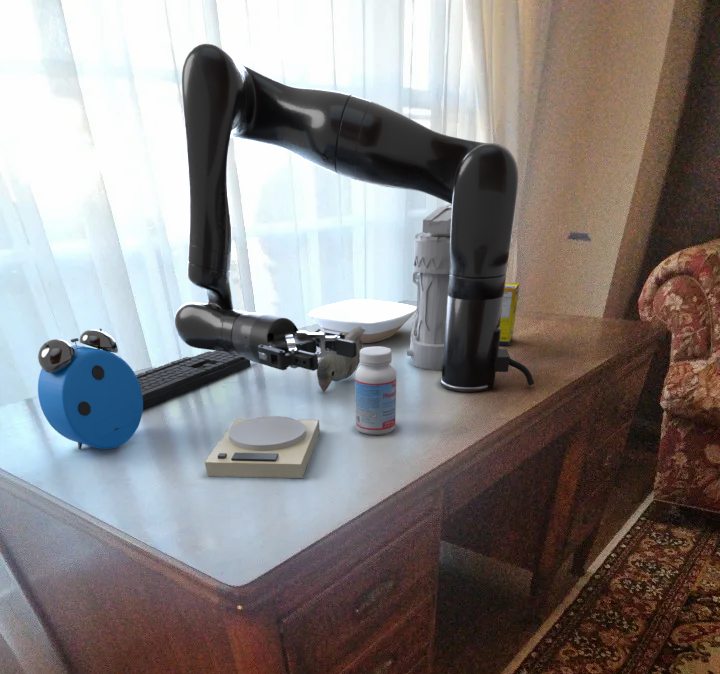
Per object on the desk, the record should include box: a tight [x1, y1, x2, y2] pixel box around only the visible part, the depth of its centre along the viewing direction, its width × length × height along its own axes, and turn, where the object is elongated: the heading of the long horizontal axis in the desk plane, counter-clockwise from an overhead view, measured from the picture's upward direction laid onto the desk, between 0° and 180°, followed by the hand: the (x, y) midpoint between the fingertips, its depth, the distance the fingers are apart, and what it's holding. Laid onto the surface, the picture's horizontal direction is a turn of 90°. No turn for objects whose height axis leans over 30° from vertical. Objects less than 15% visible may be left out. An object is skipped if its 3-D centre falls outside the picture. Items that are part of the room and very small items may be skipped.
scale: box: [204, 415, 321, 479], centre depth 82 cm, size 13×16×3 cm
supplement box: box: [499, 282, 521, 346], centre depth 122 cm, size 6×6×11 cm
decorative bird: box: [316, 326, 365, 393], centre depth 105 cm, size 5×16×8 cm, turn 154°
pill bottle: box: [354, 345, 397, 436], centre depth 85 cm, size 6×6×11 cm
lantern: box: [406, 203, 452, 371], centre depth 108 cm, size 13×10×25 cm
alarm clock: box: [37, 328, 144, 450], centre depth 81 cm, size 13×6×15 cm, turn 148°
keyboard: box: [135, 350, 251, 411], centre depth 106 cm, size 35×11×2 cm, turn 149°
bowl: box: [307, 298, 417, 344], centre depth 130 cm, size 22×22×5 cm
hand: (336, 356), depth 87 cm, fingers open, 8 cm apart
